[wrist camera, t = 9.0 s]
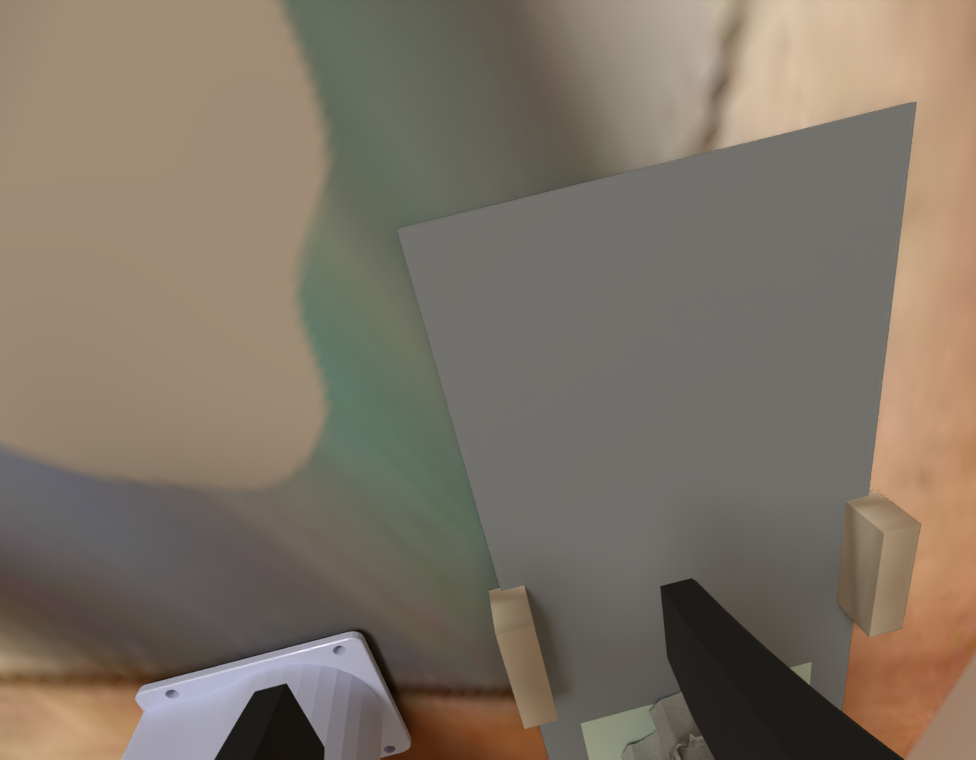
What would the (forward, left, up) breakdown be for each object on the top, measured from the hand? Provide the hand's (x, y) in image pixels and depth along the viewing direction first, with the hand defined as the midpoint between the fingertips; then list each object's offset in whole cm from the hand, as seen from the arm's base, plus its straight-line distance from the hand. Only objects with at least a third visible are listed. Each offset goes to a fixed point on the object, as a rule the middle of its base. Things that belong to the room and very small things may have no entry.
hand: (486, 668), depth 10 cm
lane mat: (+8, -12, -9) cm, 17 cm away
